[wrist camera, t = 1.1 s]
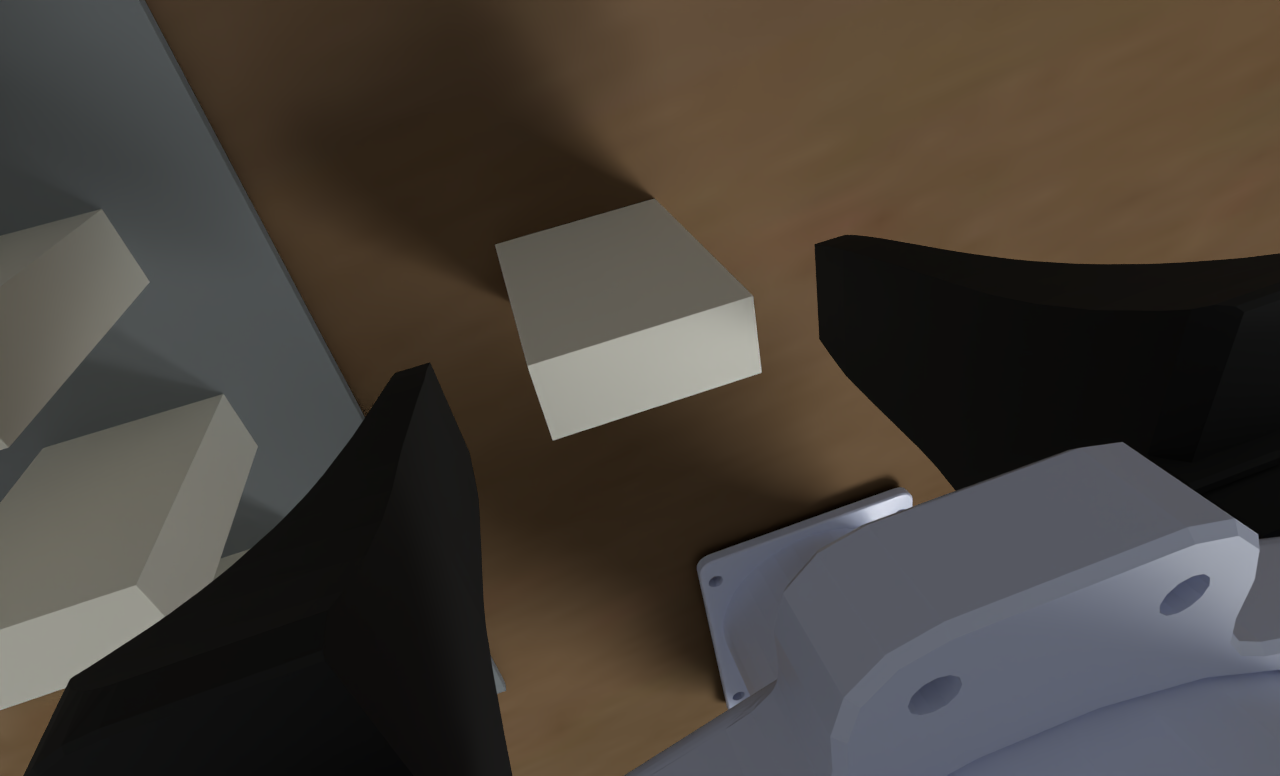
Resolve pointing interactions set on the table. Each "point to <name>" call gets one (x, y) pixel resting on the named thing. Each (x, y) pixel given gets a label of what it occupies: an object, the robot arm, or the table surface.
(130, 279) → the domino
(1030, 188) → the table surface
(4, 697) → the domino
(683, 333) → the domino
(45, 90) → the mat
